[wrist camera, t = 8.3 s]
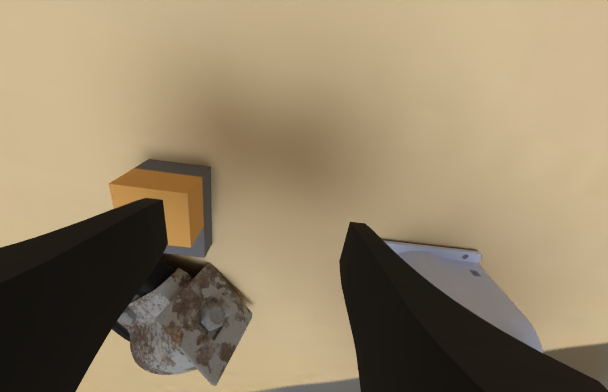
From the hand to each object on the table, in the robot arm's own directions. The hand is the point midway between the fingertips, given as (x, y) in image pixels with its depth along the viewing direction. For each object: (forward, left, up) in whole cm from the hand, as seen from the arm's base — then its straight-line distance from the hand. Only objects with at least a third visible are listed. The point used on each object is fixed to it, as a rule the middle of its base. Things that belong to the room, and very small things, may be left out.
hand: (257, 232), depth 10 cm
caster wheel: (+8, +14, -10) cm, 19 cm away
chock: (+7, +5, -10) cm, 13 cm away
